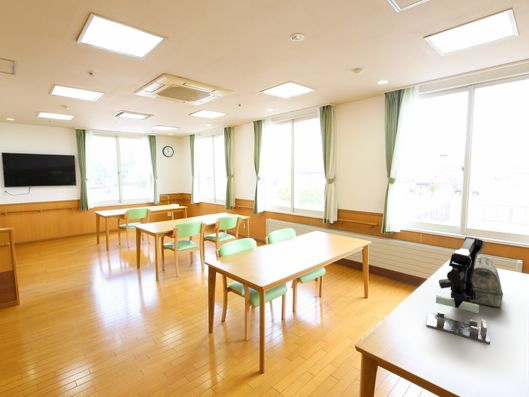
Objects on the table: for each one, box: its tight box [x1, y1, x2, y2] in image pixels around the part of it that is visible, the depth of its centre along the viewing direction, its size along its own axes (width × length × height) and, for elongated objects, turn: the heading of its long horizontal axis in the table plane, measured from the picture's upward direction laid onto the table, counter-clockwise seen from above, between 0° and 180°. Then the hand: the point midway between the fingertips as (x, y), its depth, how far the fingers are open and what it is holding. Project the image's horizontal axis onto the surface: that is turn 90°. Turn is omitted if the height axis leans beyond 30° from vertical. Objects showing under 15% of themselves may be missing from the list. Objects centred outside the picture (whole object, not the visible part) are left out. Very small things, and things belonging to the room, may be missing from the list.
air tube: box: [435, 295, 480, 314], centre depth 141 cm, size 4×18×4 cm, turn 56°
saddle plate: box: [426, 311, 491, 345], centre depth 131 cm, size 12×24×6 cm, turn 56°
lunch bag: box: [470, 255, 504, 308], centre depth 161 cm, size 26×18×22 cm
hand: (456, 305), depth 141 cm, fingers closed on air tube, 4 cm apart
